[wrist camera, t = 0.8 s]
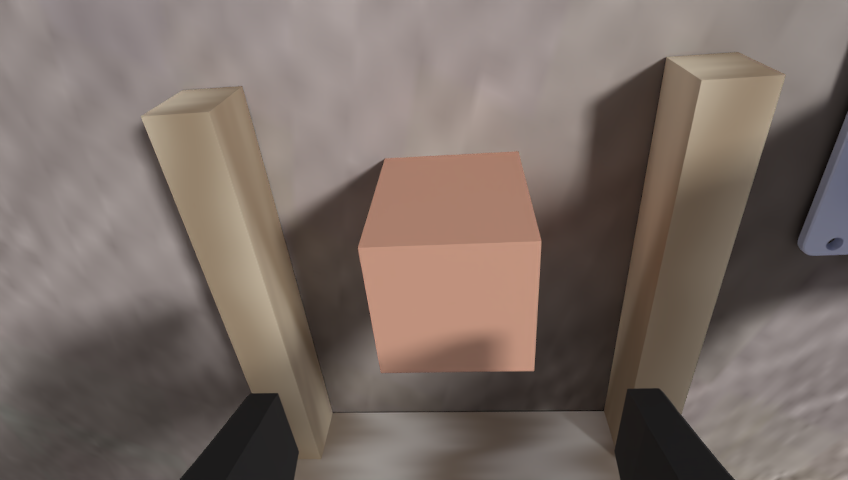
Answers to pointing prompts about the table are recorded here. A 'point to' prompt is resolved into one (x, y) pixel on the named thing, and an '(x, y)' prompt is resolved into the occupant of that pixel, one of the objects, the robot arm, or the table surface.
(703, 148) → the wooden u-shaped frame
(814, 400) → the table surface
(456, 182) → the block
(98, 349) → the table surface
